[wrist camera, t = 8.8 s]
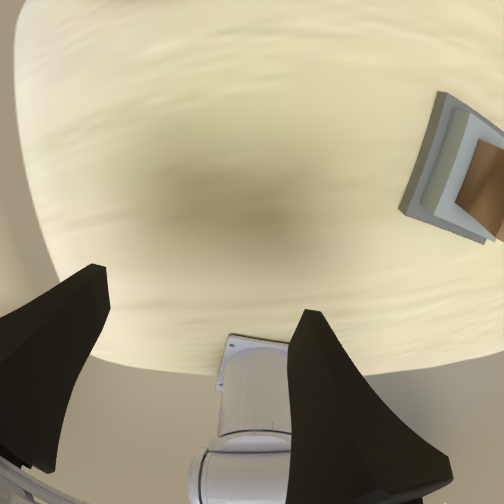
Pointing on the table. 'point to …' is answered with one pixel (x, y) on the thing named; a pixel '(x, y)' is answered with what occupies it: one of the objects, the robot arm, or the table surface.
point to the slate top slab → (457, 169)
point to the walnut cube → (485, 188)
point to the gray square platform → (427, 161)
